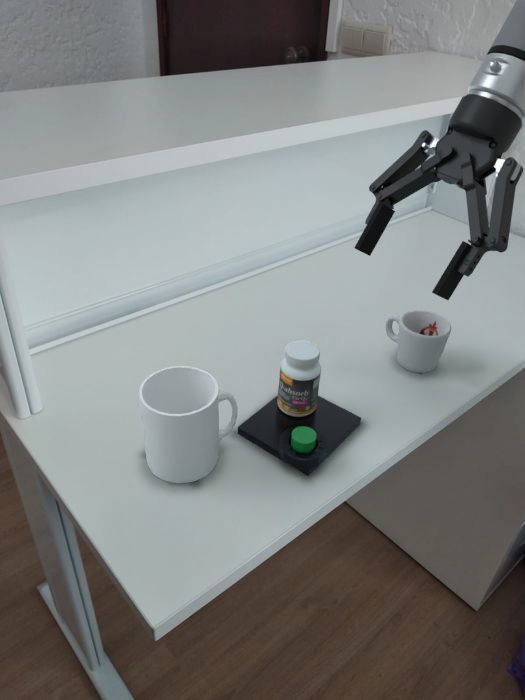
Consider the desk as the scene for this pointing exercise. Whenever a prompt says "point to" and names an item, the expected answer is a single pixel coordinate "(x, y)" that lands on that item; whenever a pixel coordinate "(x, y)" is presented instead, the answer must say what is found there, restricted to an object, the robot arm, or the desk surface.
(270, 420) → the scale
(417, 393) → the desk surface
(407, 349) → the cup
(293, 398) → the pill bottle
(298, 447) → the tare button
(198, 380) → the mug
